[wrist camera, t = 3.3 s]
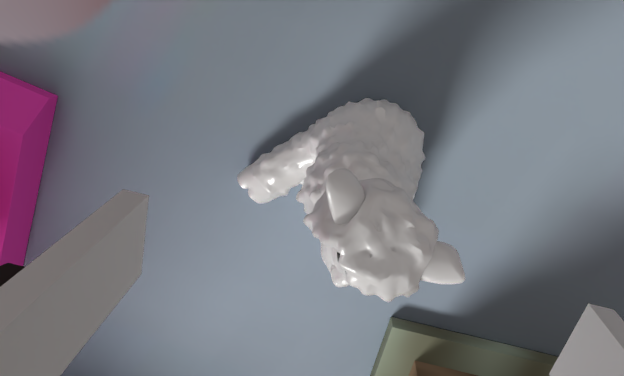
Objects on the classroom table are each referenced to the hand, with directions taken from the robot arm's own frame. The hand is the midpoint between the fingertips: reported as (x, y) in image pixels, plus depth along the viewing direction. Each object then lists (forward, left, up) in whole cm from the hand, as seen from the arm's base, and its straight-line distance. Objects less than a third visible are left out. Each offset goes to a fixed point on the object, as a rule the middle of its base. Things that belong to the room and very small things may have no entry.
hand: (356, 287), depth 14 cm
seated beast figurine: (0, 0, -13) cm, 13 cm away
